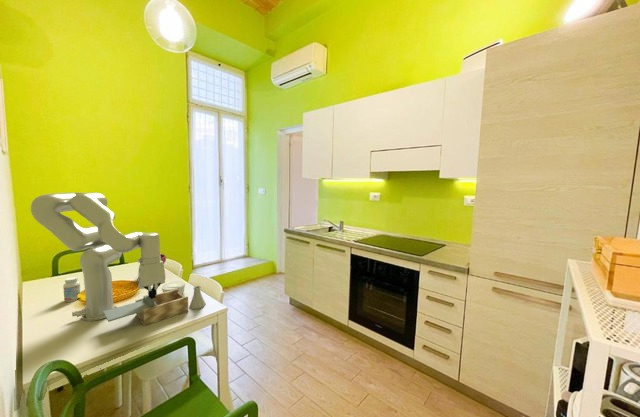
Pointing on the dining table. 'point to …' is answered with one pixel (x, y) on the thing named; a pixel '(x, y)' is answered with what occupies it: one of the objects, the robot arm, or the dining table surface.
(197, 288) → the flask
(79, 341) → the dining table surface
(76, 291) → the pill bottle
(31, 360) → the dining table surface
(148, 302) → the lid
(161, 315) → the wooden box
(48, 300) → the dining table surface
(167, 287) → the ramekin
